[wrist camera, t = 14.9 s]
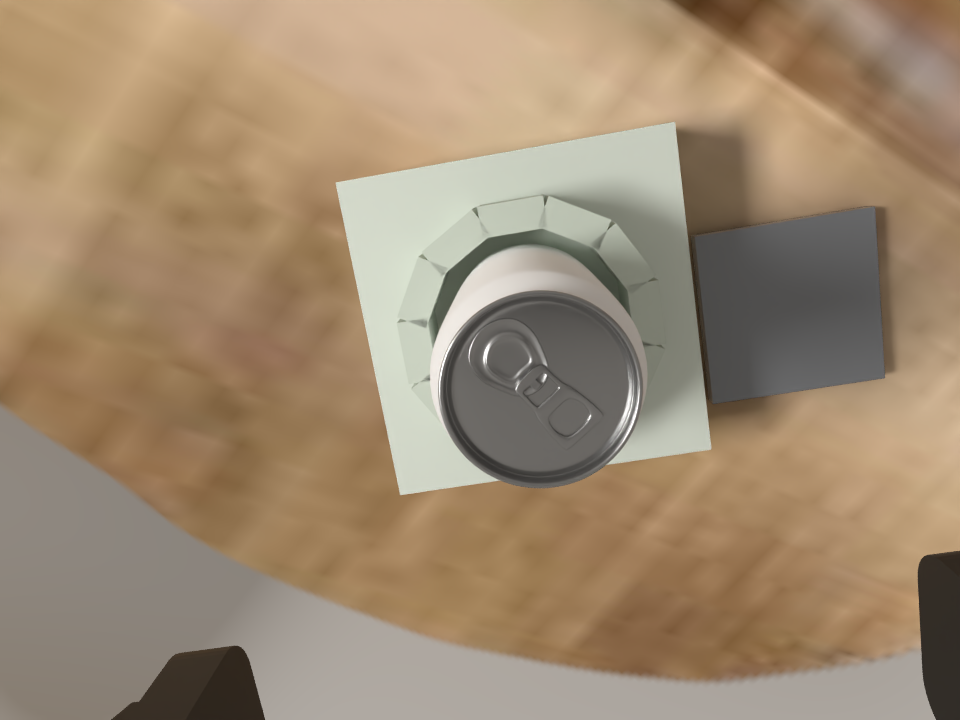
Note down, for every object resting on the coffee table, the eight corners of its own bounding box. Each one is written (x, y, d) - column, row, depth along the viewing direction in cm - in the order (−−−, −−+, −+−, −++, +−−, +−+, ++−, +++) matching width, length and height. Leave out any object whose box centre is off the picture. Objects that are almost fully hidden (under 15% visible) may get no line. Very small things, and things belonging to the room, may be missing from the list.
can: (529, 209, 31) (541, 222, 20) (637, 318, 32) (709, 392, 21) (422, 318, 33) (373, 392, 21) (528, 421, 34) (539, 547, 22)
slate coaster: (866, 206, 35) (874, 206, 34) (876, 374, 36) (884, 378, 36) (690, 235, 35) (695, 236, 35) (708, 399, 37) (713, 404, 36)
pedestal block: (656, 129, 34) (692, 115, 28) (690, 421, 37) (730, 474, 31) (354, 182, 35) (317, 182, 29) (411, 463, 38) (390, 523, 32)
